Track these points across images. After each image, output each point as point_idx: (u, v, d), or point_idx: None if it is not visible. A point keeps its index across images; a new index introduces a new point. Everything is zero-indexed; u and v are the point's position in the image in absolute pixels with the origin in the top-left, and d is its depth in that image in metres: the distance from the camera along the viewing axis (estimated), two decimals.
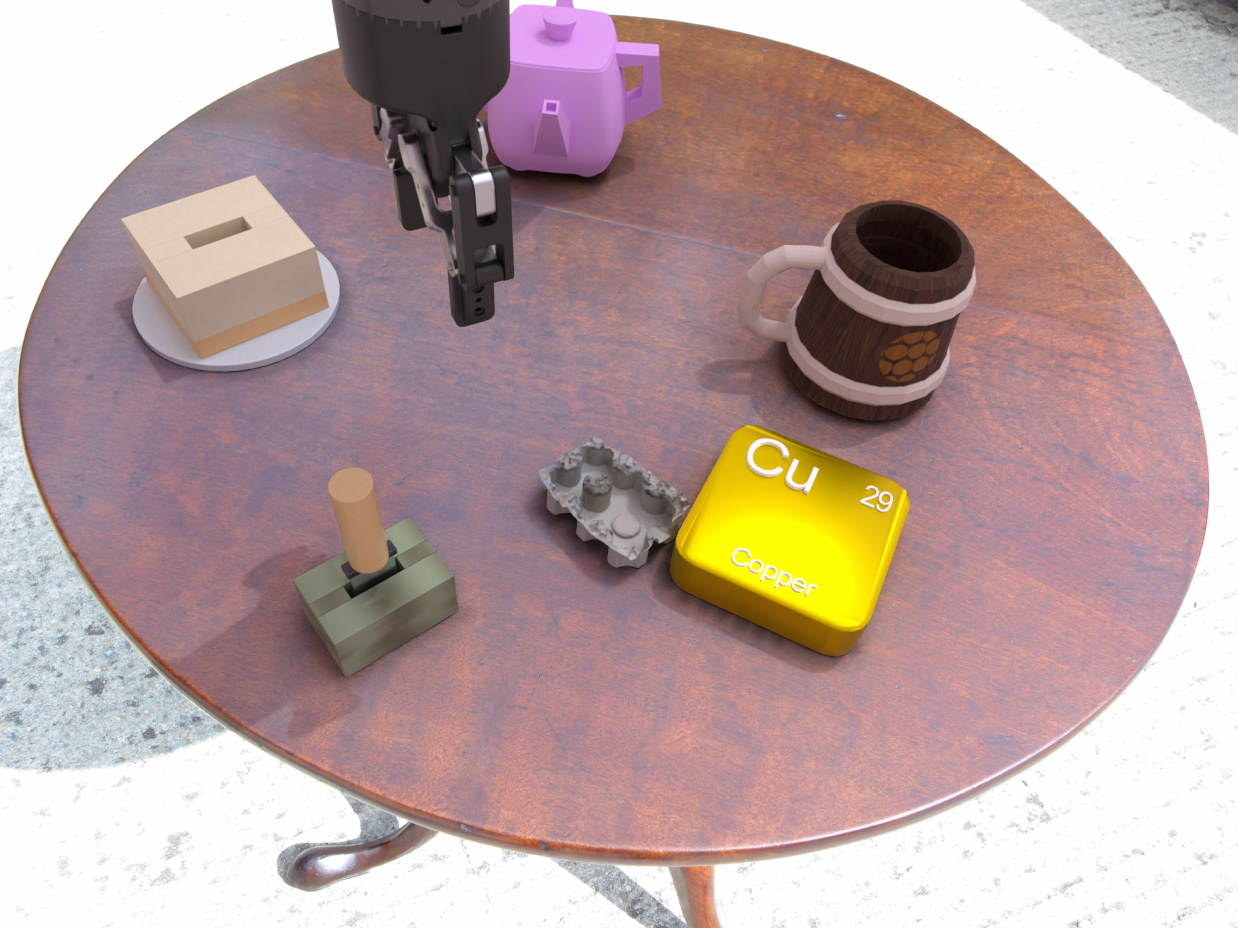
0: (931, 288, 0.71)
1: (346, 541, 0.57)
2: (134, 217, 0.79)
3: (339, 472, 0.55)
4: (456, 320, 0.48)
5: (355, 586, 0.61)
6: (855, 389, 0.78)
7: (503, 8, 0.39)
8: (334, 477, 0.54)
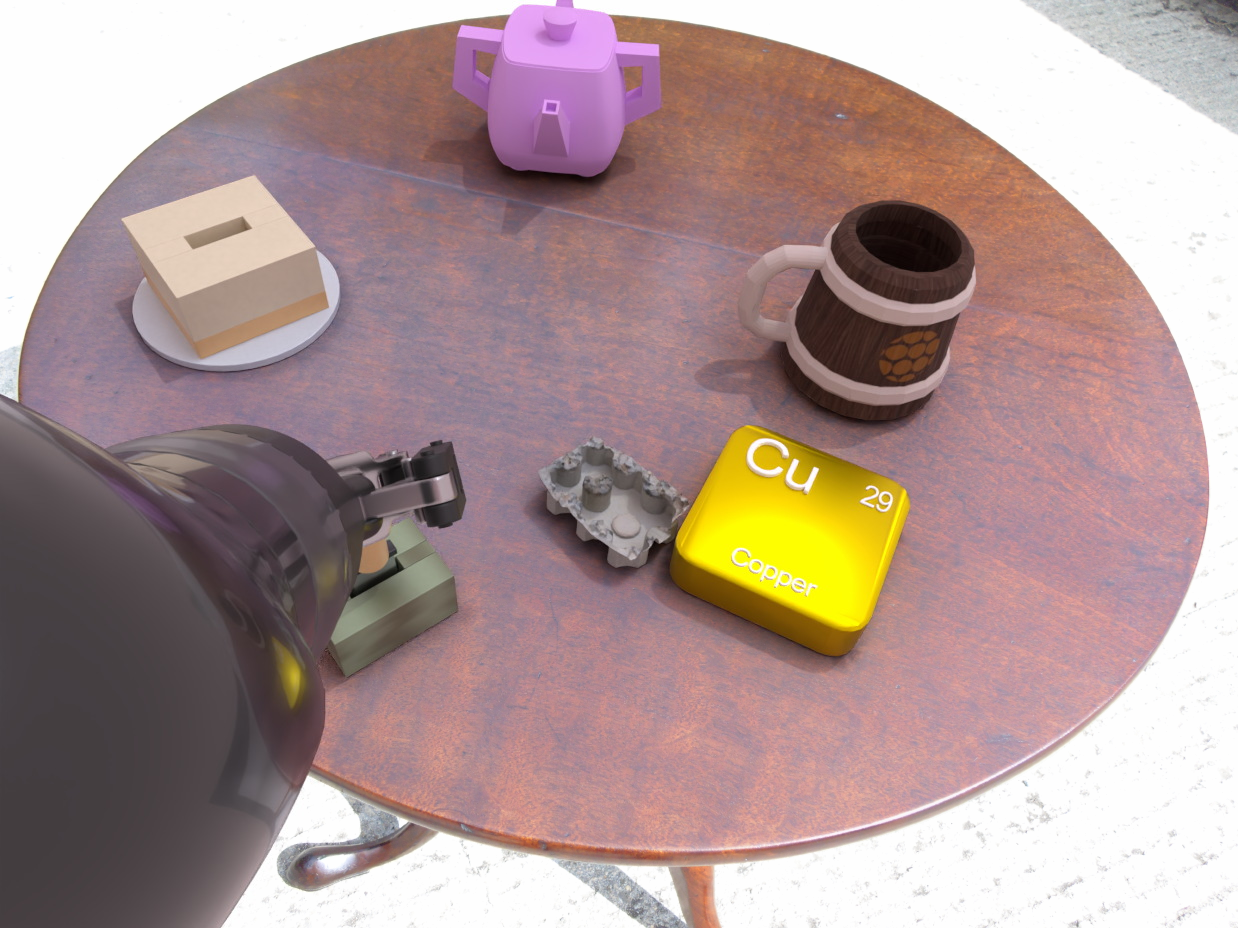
0: (931, 288, 0.71)
1: None
2: (134, 217, 0.79)
3: None
4: None
5: (355, 586, 0.61)
6: (855, 389, 0.78)
7: None
8: None
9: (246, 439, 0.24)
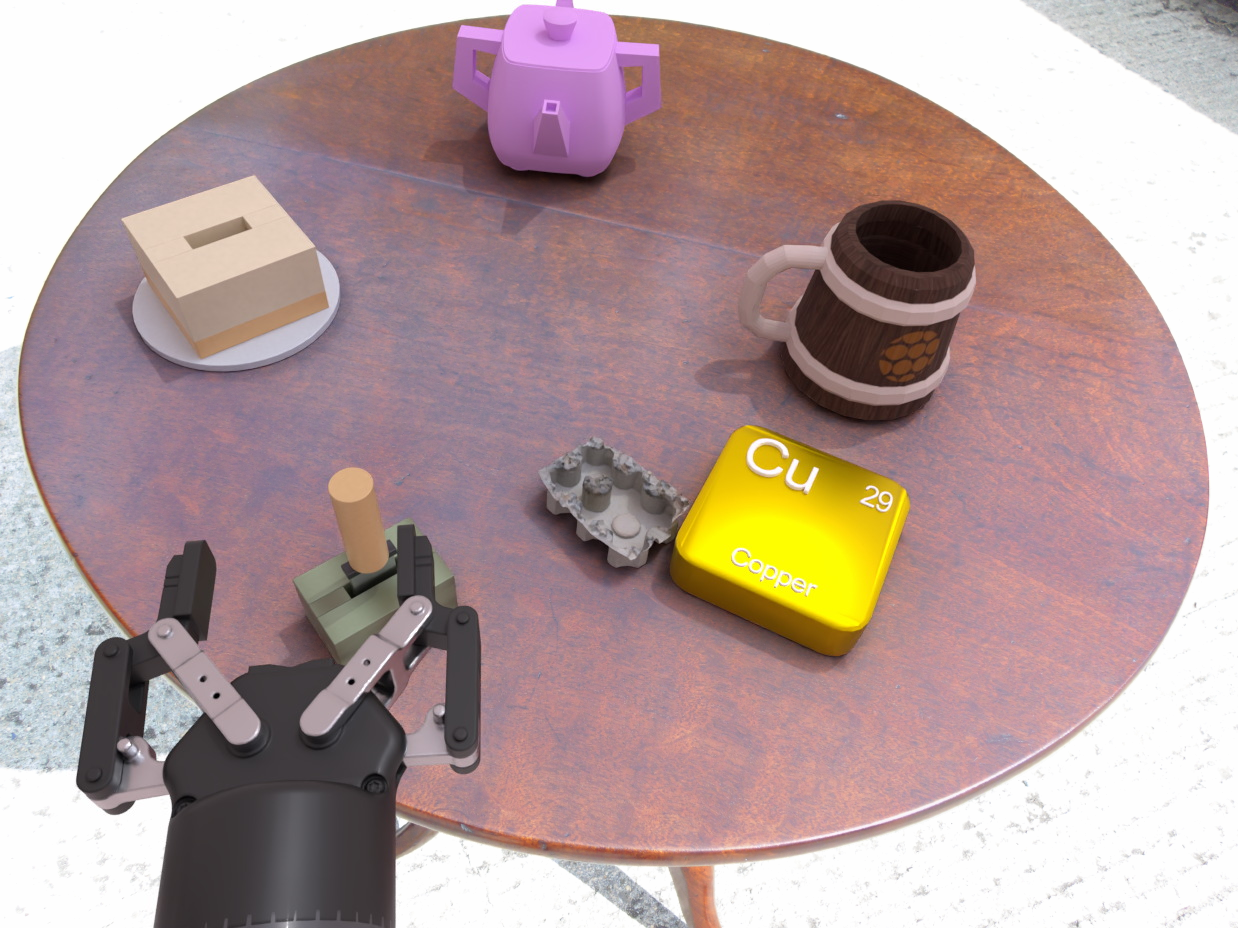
0: (931, 288, 0.71)
1: (346, 541, 0.57)
2: (134, 217, 0.79)
3: (339, 472, 0.55)
4: (184, 549, 0.38)
5: (355, 586, 0.61)
6: (855, 389, 0.78)
7: None
8: (334, 477, 0.54)
9: None
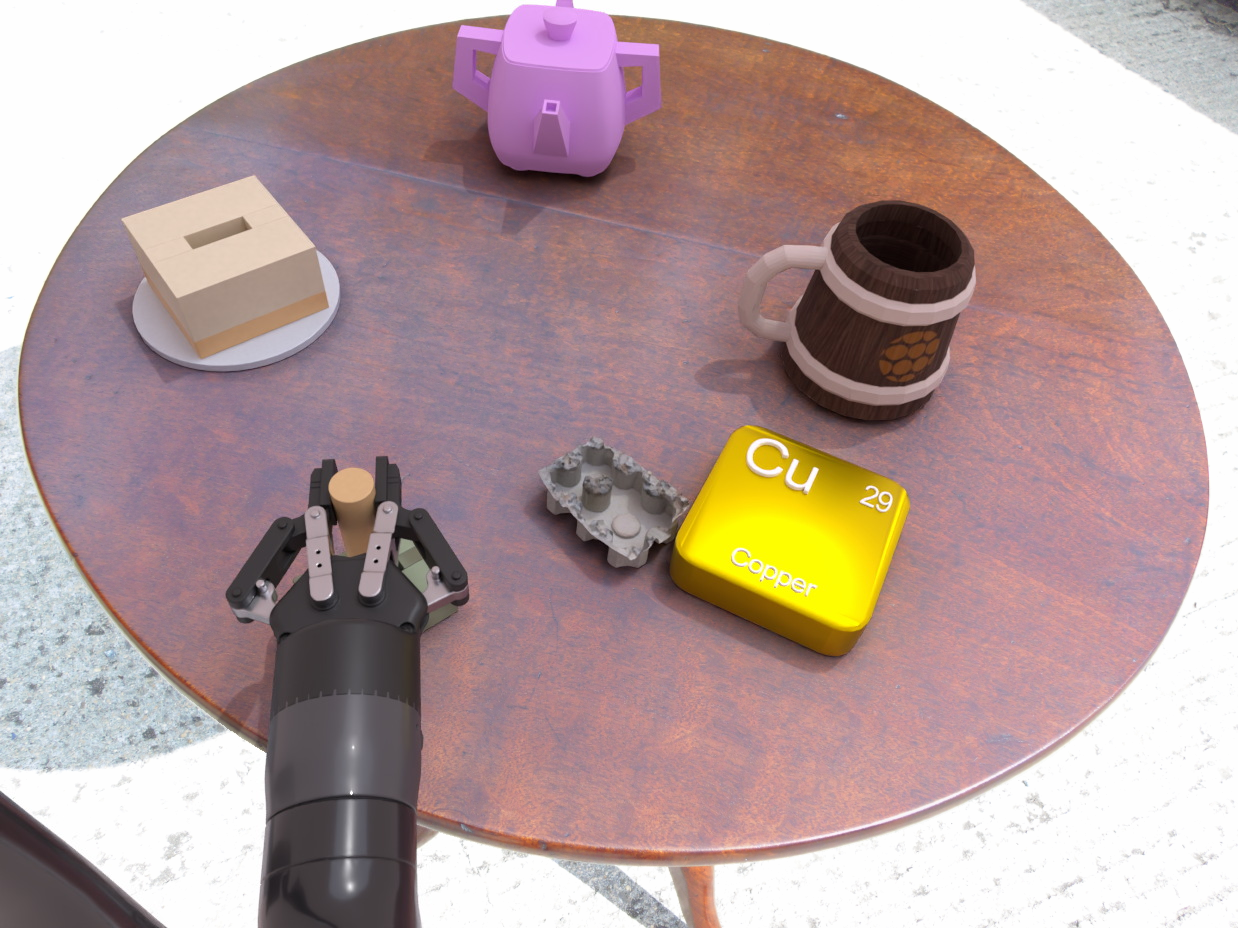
0: (931, 288, 0.71)
1: (346, 541, 0.57)
2: (134, 217, 0.79)
3: (340, 472, 0.55)
4: (322, 464, 0.56)
5: None
6: (855, 389, 0.78)
7: None
8: (334, 477, 0.54)
9: (379, 711, 0.45)
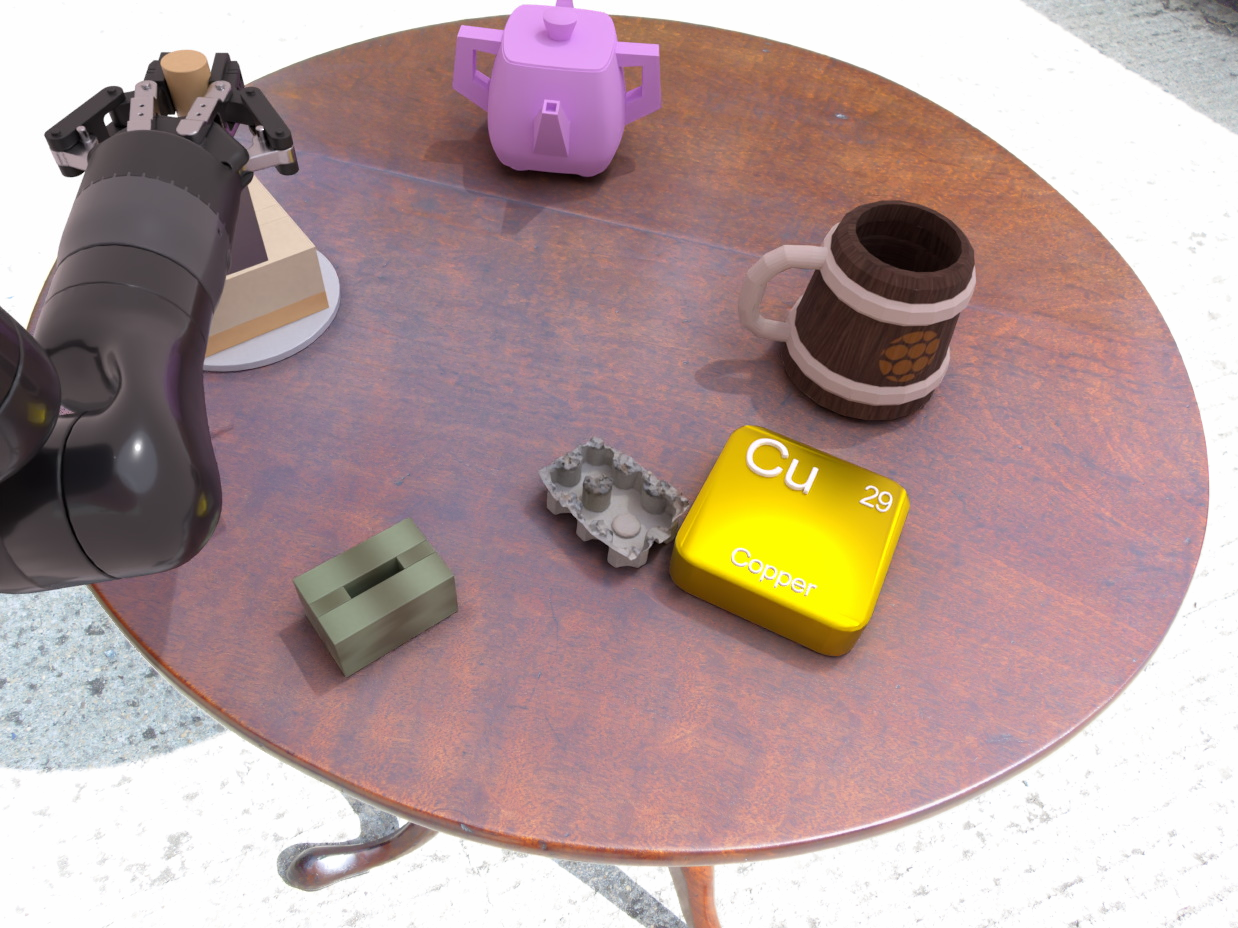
0: (931, 288, 0.71)
1: None
2: None
3: (174, 52, 0.55)
4: (160, 55, 0.56)
5: None
6: (855, 389, 0.78)
7: None
8: (168, 55, 0.55)
9: (174, 196, 0.45)
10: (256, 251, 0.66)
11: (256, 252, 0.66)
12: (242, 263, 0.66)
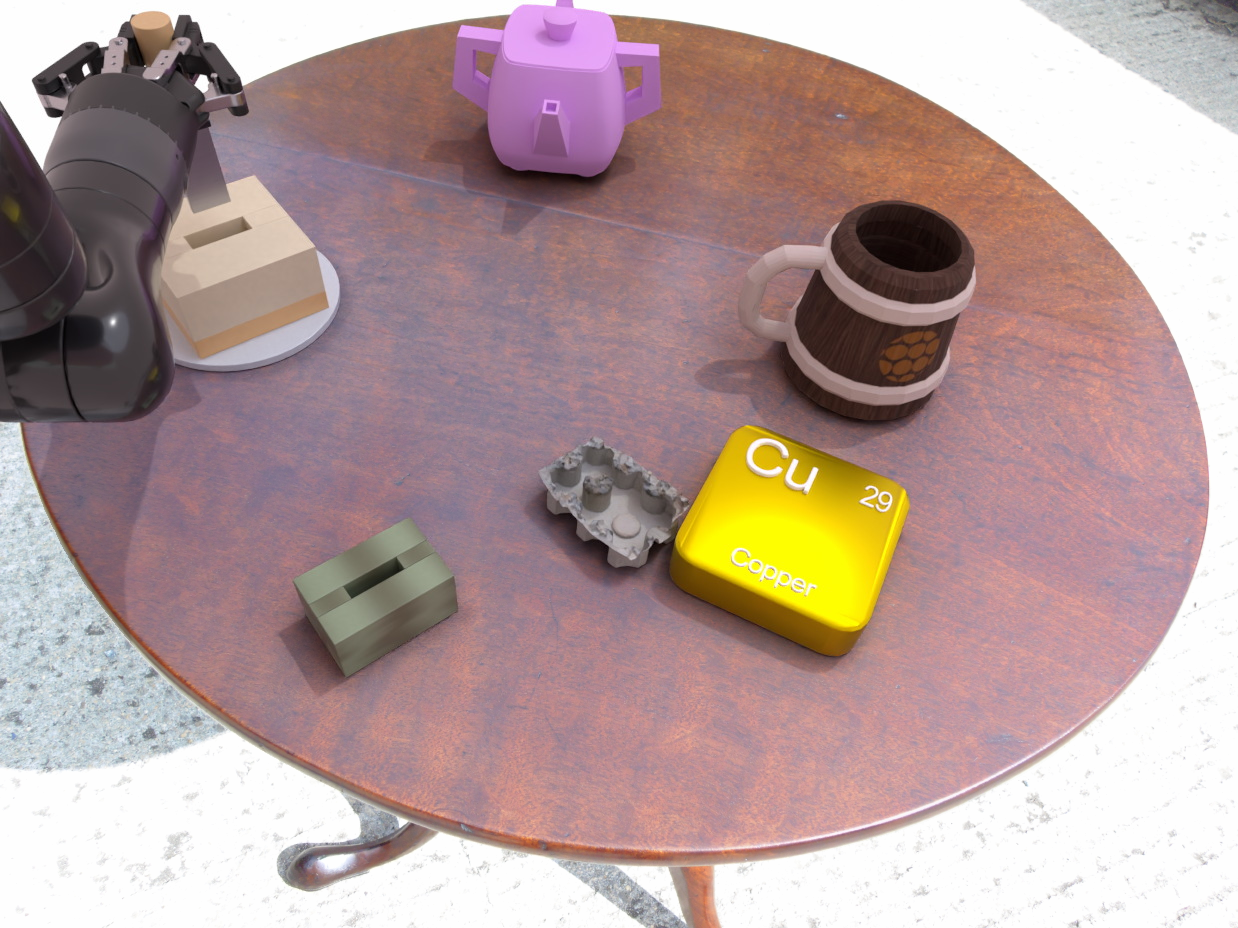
0: (931, 288, 0.71)
1: None
2: None
3: (142, 13, 0.65)
4: (131, 17, 0.66)
5: None
6: (855, 389, 0.78)
7: None
8: (137, 15, 0.64)
9: (138, 124, 0.55)
10: (219, 192, 0.76)
11: (219, 194, 0.76)
12: (207, 203, 0.76)
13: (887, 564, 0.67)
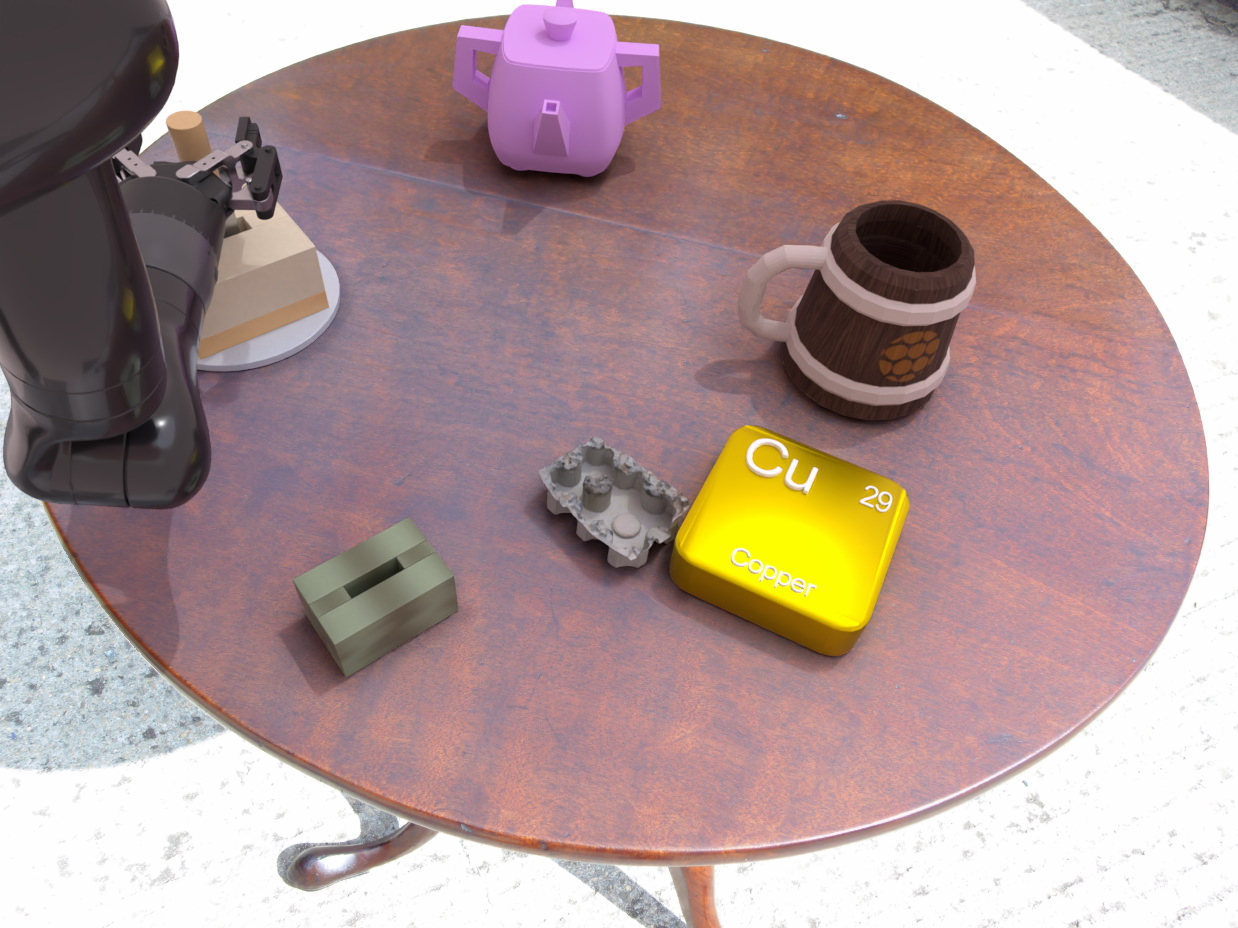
0: (931, 288, 0.71)
1: None
2: None
3: (176, 113, 0.71)
4: None
5: None
6: (855, 389, 0.78)
7: None
8: (171, 115, 0.70)
9: (175, 227, 0.61)
10: None
11: None
12: None
13: (887, 564, 0.67)
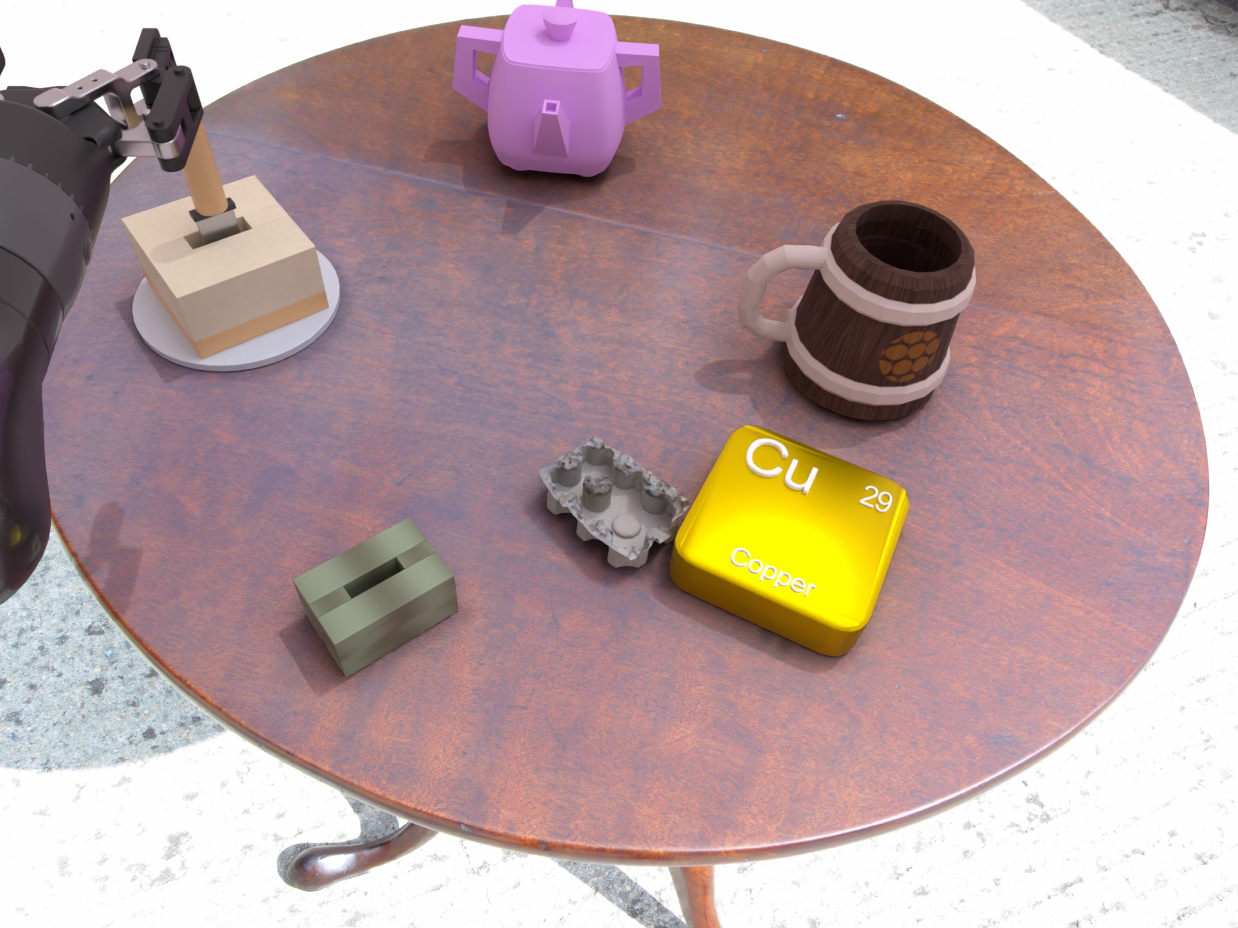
0: (931, 288, 0.71)
1: (187, 179, 0.73)
2: (134, 217, 0.79)
3: None
4: None
5: (202, 234, 0.77)
6: (855, 389, 0.78)
7: None
8: None
9: (13, 174, 0.39)
10: None
11: None
12: None
13: (887, 564, 0.67)
